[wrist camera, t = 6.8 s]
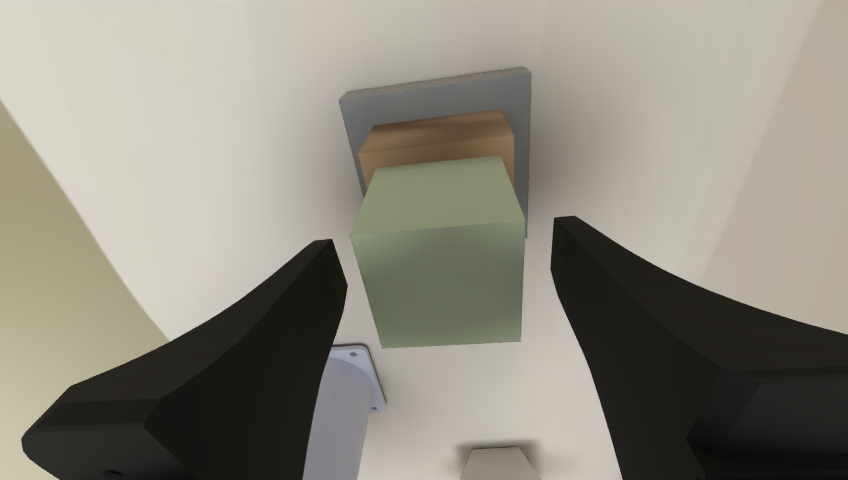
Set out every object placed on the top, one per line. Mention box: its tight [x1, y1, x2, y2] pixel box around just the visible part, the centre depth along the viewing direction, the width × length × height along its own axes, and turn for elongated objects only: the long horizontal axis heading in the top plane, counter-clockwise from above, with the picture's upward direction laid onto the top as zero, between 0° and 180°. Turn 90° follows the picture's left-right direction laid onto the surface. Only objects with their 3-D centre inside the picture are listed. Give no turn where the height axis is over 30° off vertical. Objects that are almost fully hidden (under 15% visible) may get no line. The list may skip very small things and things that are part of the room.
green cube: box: [350, 155, 525, 348], centre depth 12 cm, size 4×4×4 cm
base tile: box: [339, 67, 531, 238], centre depth 17 cm, size 8×8×2 cm
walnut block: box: [358, 109, 514, 190], centre depth 15 cm, size 6×6×4 cm
